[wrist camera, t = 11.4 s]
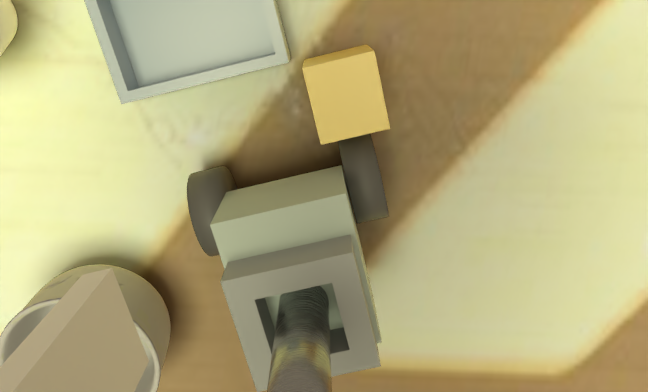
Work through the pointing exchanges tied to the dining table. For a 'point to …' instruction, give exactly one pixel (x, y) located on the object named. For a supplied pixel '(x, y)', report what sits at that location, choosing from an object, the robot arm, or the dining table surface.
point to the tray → (185, 42)
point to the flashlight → (301, 343)
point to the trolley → (295, 251)
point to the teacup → (140, 302)
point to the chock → (346, 94)
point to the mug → (7, 24)
